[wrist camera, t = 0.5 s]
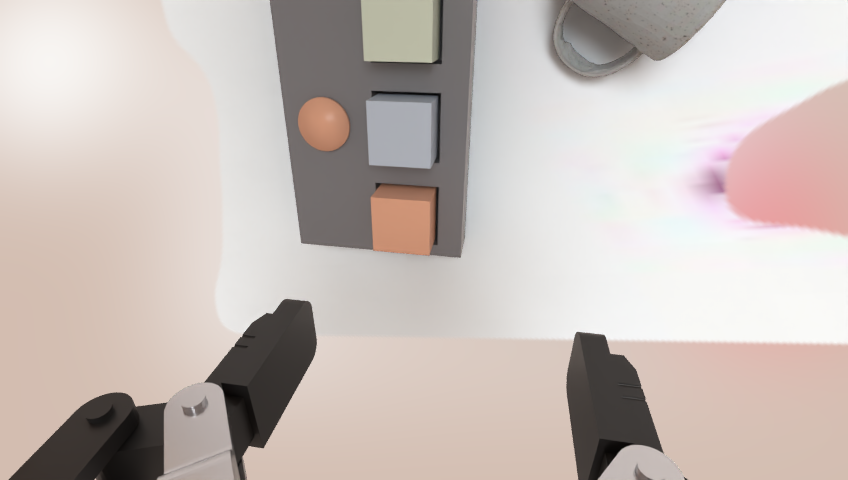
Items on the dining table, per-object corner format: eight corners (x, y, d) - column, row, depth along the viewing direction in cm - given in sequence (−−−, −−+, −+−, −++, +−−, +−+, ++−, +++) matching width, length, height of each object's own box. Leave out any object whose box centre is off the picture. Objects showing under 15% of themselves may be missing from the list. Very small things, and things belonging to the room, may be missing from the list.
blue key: (378, 93, 33) (365, 100, 30) (438, 95, 32) (431, 103, 30) (380, 153, 35) (368, 165, 32) (437, 156, 34) (430, 168, 32)
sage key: (374, -16, 30) (359, -19, 27) (440, -16, 29) (433, -19, 26) (376, 57, 32) (363, 61, 29) (439, 58, 31) (431, 62, 28)
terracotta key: (381, 183, 36) (370, 197, 33) (436, 186, 36) (430, 201, 33) (383, 233, 38) (373, 250, 35) (435, 237, 38) (429, 255, 35)
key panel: (288, -33, 33) (262, -38, 29) (479, -34, 31) (475, -41, 27) (317, 226, 42) (299, 245, 39) (464, 238, 40) (459, 259, 37)
